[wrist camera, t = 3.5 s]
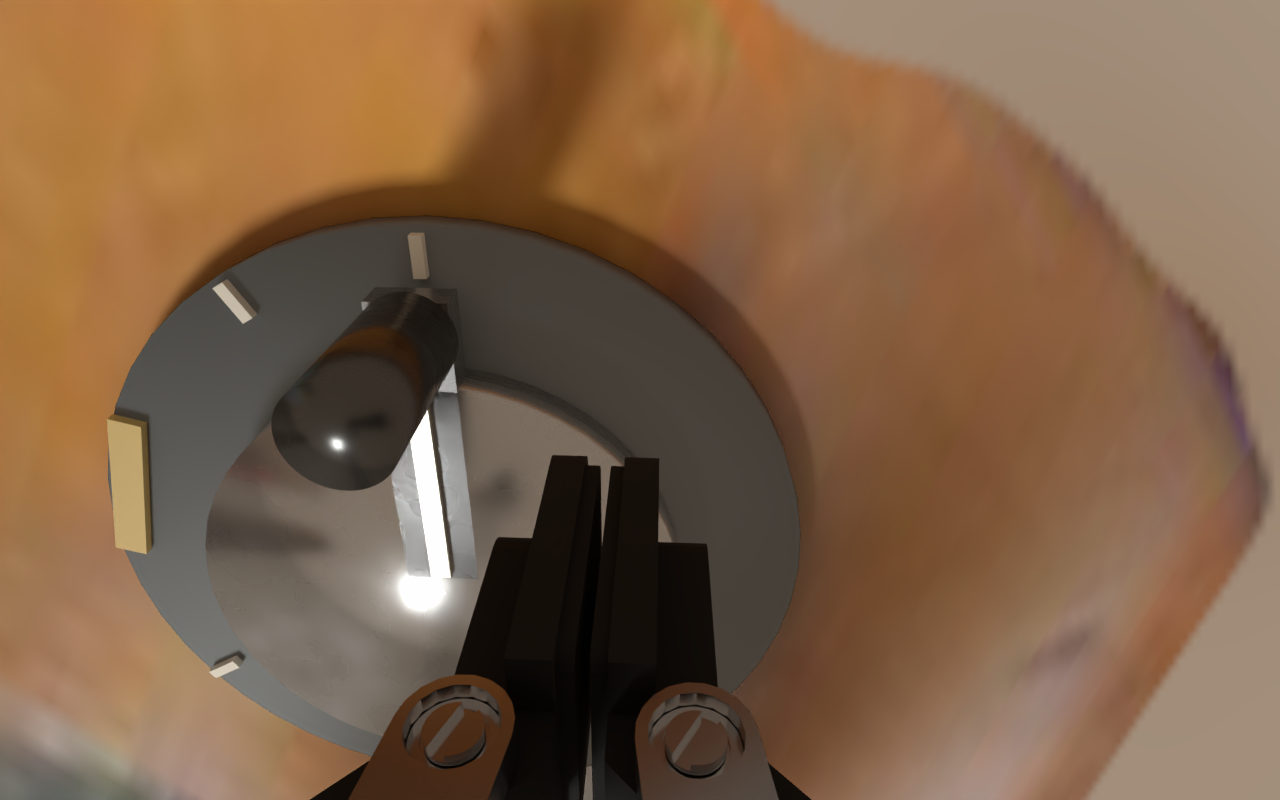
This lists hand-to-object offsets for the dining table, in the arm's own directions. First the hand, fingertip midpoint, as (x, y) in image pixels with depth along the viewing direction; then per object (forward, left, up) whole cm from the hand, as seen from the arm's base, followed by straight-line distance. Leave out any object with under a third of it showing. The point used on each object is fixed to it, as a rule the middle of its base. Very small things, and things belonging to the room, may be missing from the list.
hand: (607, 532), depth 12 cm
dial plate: (-5, +10, -11) cm, 16 cm away
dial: (-4, +9, -10) cm, 14 cm away
